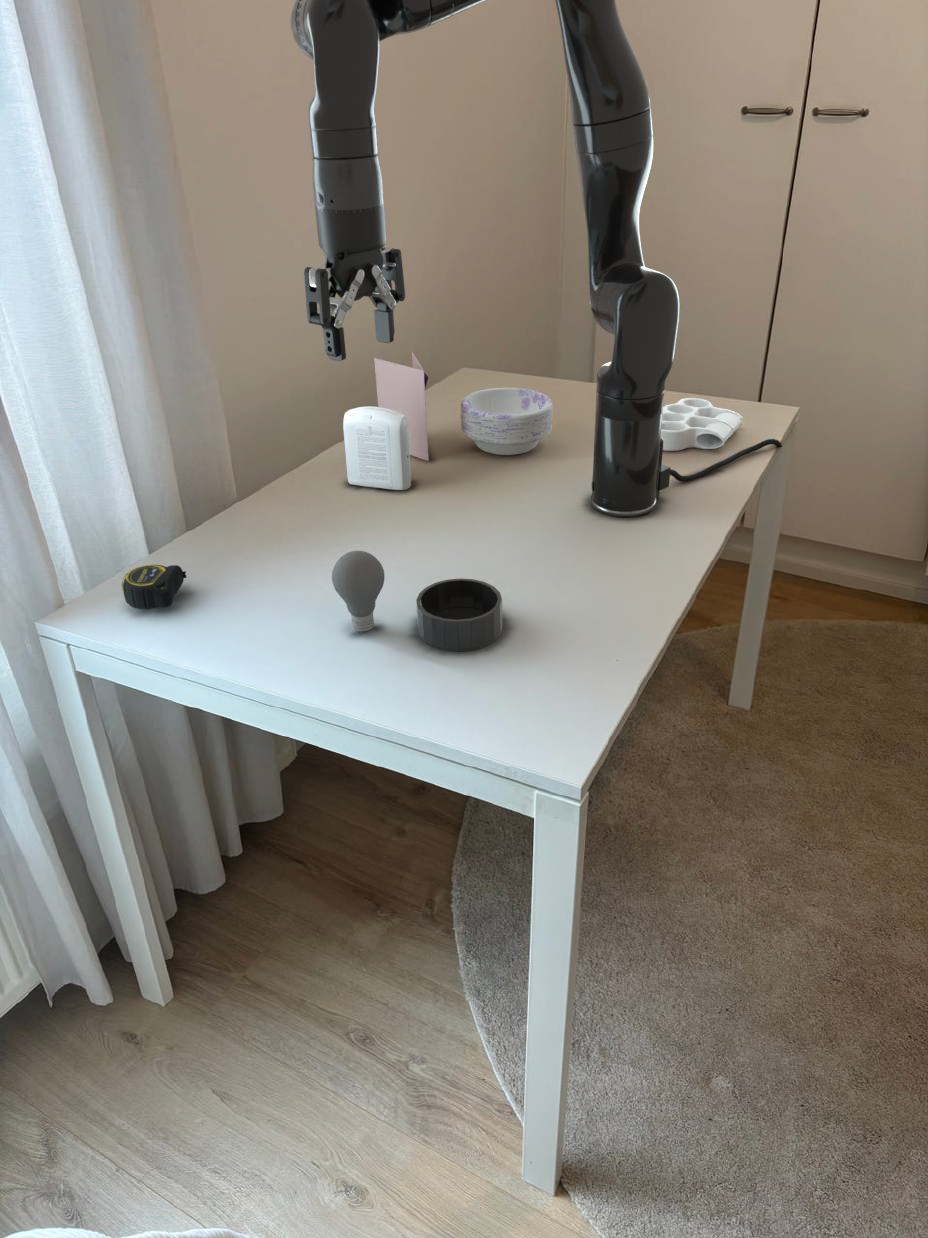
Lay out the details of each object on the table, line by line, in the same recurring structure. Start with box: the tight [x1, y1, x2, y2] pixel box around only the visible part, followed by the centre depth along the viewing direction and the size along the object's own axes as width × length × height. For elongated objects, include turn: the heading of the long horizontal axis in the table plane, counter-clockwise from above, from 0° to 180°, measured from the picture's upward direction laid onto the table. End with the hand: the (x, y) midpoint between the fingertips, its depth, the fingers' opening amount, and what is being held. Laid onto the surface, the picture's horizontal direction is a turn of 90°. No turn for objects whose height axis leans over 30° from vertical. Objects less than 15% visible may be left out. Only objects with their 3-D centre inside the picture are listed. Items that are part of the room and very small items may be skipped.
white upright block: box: [342, 406, 412, 491], centre depth 145 cm, size 10×4×12 cm, turn 72°
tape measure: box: [121, 564, 187, 611], centre depth 118 cm, size 7×7×4 cm
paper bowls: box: [460, 387, 554, 456], centre depth 158 cm, size 15×15×8 cm
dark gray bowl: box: [415, 577, 503, 652], centre depth 110 cm, size 10×10×4 cm
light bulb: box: [331, 550, 386, 632], centre depth 109 cm, size 6×6×10 cm
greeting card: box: [374, 351, 430, 462], centre depth 156 cm, size 11×7×15 cm, turn 12°
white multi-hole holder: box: [661, 397, 744, 452], centre depth 162 cm, size 3×18×15 cm
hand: (362, 350), depth 112 cm, fingers open, 8 cm apart
